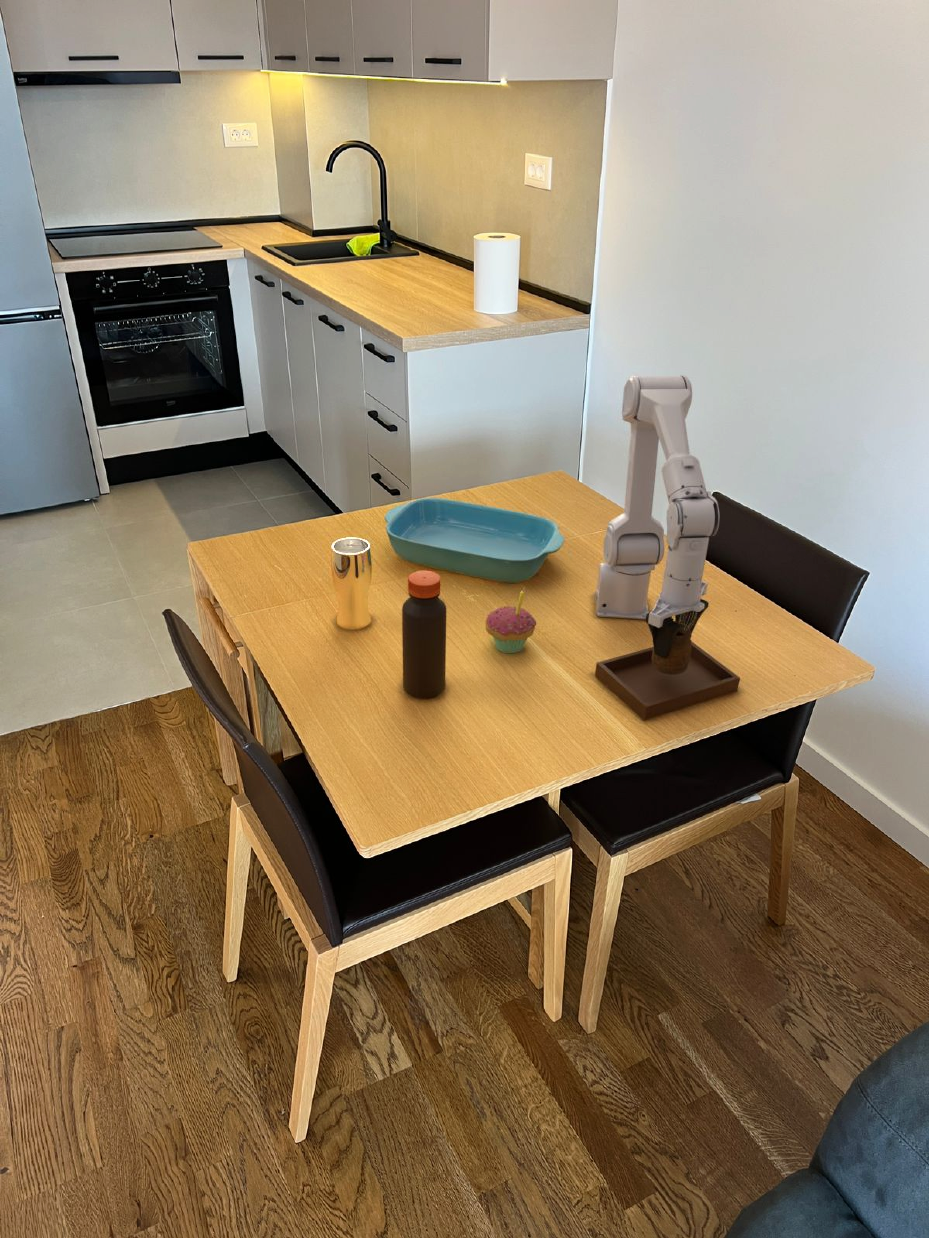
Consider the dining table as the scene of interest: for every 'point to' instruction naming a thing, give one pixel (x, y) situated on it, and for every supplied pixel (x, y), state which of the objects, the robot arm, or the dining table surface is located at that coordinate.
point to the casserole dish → (472, 538)
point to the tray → (665, 682)
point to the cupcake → (510, 627)
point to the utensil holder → (676, 652)
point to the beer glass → (352, 581)
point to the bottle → (424, 636)
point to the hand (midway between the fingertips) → (671, 647)
